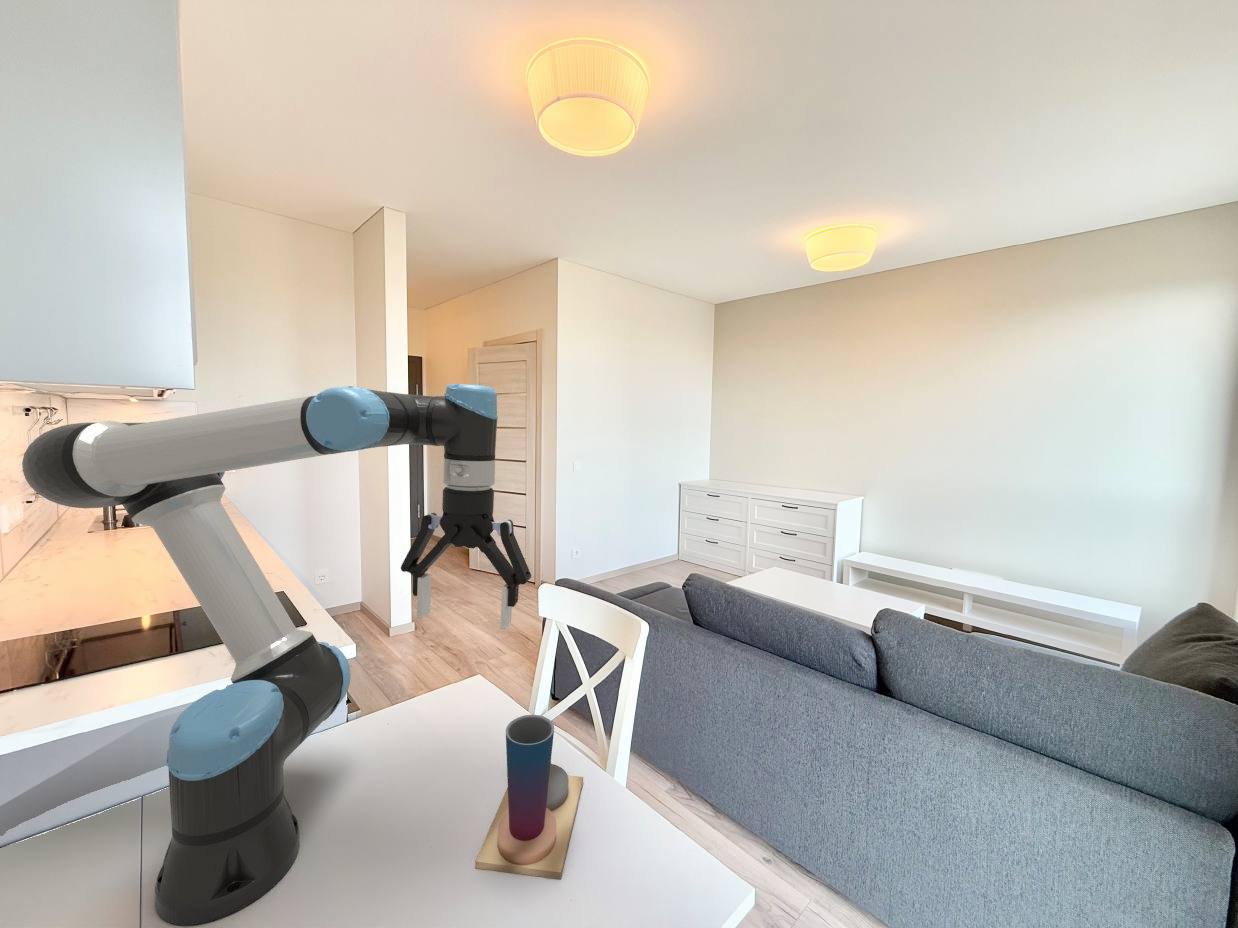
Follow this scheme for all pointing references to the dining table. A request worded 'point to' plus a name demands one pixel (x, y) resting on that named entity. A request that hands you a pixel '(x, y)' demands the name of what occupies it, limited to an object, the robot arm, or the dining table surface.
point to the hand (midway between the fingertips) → (464, 620)
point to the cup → (528, 774)
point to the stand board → (559, 849)
